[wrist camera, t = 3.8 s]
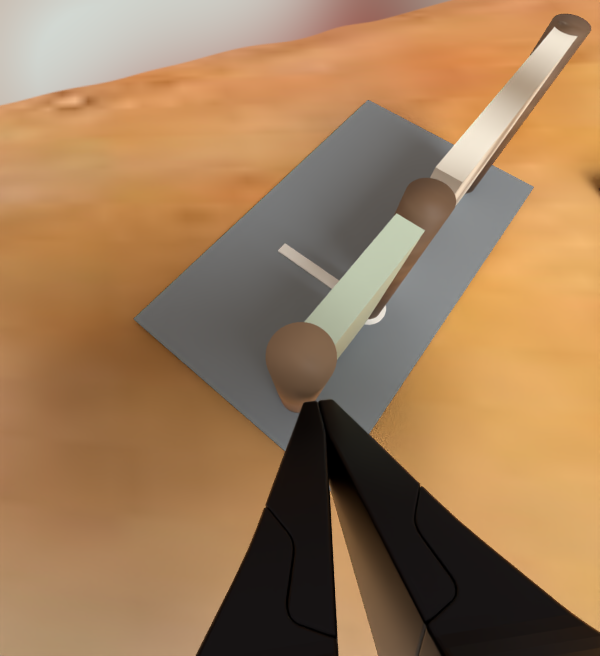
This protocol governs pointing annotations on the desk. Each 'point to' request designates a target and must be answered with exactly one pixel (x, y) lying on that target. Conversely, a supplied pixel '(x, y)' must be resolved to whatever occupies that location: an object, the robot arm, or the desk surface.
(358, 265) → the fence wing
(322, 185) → the card
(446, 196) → the fence section
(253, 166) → the desk surface
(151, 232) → the desk surface
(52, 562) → the desk surface
